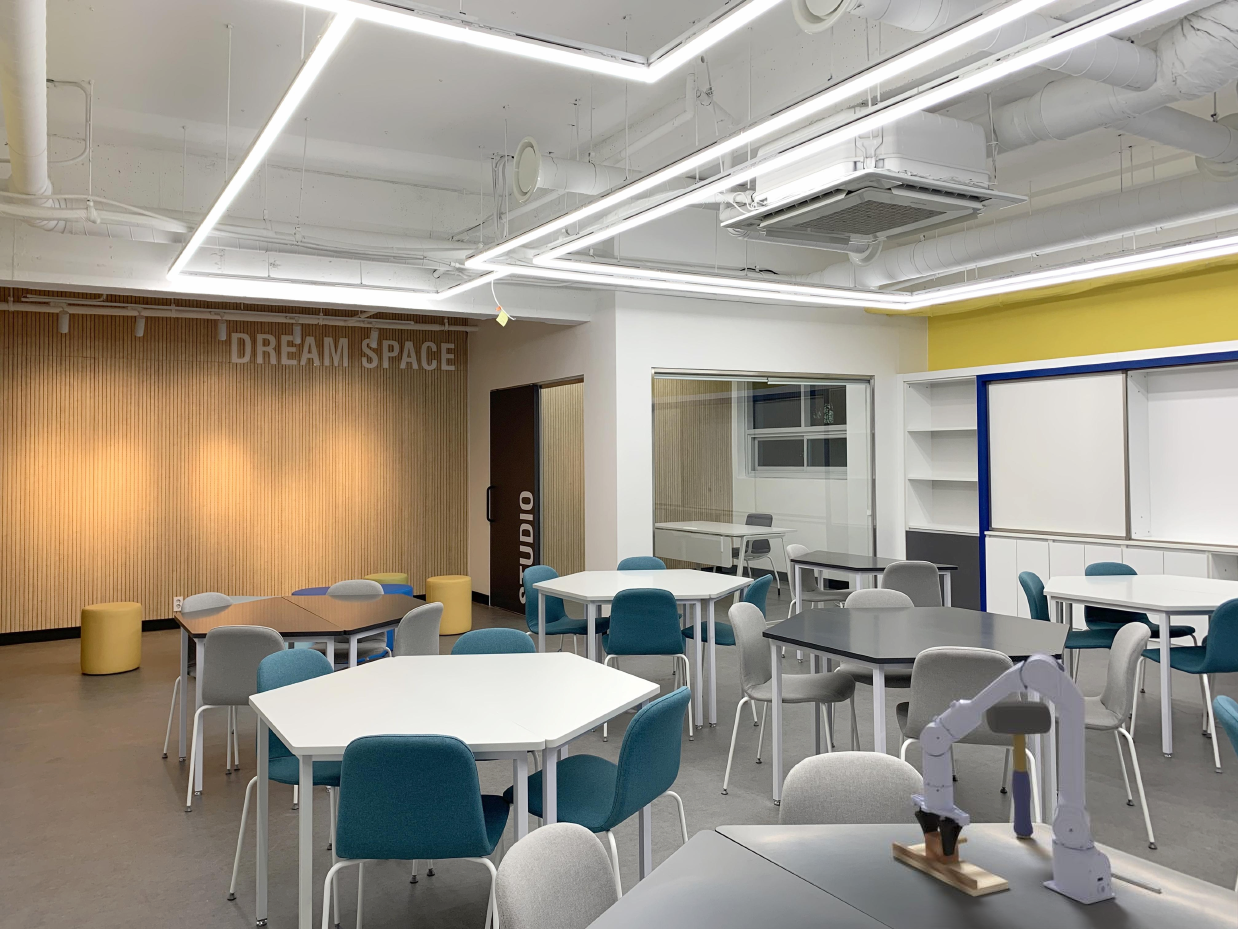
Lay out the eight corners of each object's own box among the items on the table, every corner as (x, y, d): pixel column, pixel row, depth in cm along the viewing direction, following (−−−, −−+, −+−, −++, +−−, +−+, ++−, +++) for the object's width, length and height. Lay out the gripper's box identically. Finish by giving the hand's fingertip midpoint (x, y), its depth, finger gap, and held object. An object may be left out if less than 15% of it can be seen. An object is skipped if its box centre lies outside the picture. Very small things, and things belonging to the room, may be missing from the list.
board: (1009, 888, 163) (1008, 873, 163) (973, 896, 160) (973, 881, 160) (925, 848, 183) (925, 835, 183) (892, 855, 180) (892, 842, 180)
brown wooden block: (973, 858, 175) (972, 833, 175) (940, 865, 171) (939, 840, 172) (958, 851, 178) (957, 827, 179) (925, 858, 175) (924, 833, 175)
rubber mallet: (1001, 842, 186) (995, 703, 188) (988, 830, 194) (983, 697, 196) (1059, 843, 185) (1053, 704, 187) (1045, 831, 193) (1039, 697, 195)
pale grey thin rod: (1093, 871, 171) (1093, 866, 171) (1097, 870, 172) (1097, 865, 172) (1157, 895, 160) (1157, 889, 160) (1160, 893, 161) (1160, 888, 161)
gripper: (898, 776, 180) (900, 842, 179) (949, 796, 167) (952, 867, 166) (923, 772, 183) (926, 837, 182) (976, 791, 170) (979, 861, 169)
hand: (940, 851), depth 174 cm, fingers closed on brown wooden block, 4 cm apart
